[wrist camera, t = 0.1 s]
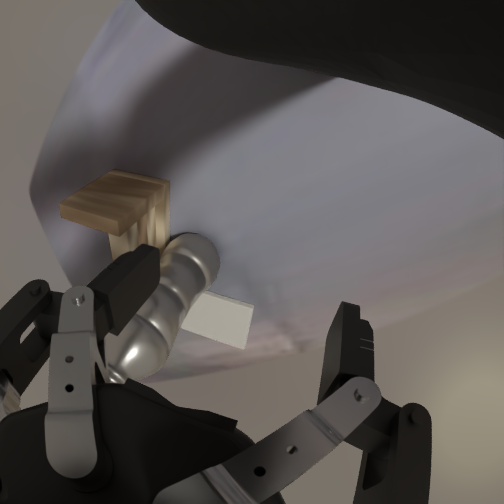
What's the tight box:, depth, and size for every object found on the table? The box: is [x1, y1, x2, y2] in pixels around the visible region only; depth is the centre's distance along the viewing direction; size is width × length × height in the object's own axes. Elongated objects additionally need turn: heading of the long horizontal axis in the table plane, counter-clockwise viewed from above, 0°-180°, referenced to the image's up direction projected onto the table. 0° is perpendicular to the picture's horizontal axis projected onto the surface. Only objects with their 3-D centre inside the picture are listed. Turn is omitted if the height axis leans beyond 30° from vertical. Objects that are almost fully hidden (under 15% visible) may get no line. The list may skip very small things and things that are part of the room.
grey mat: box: [181, 291, 254, 350], centre depth 41 cm, size 9×10×1 cm
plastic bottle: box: [105, 233, 220, 384], centre depth 27 cm, size 6×7×20 cm
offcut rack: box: [59, 170, 170, 261], centre depth 32 cm, size 16×8×9 cm, turn 172°
